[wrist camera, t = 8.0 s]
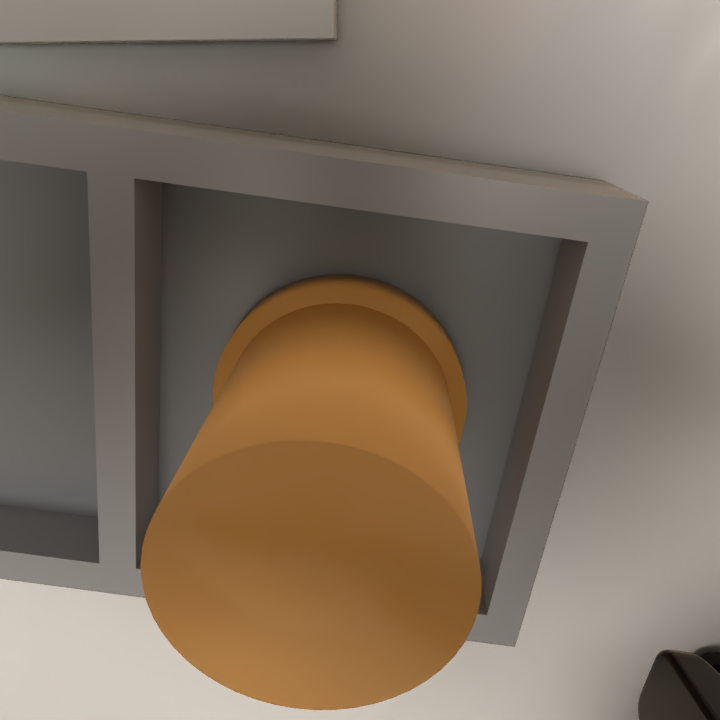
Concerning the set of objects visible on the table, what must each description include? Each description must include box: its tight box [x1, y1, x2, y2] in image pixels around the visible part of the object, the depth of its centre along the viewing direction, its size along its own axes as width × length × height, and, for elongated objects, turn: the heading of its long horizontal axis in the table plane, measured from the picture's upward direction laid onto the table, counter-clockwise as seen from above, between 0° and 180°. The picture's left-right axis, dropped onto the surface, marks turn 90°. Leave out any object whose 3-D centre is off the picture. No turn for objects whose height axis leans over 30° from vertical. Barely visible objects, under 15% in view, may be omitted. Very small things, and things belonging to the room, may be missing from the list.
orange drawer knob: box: [141, 274, 482, 710], centre depth 11 cm, size 5×5×6 cm
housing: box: [0, 95, 648, 647], centre depth 14 cm, size 18×10×2 cm, turn 83°
